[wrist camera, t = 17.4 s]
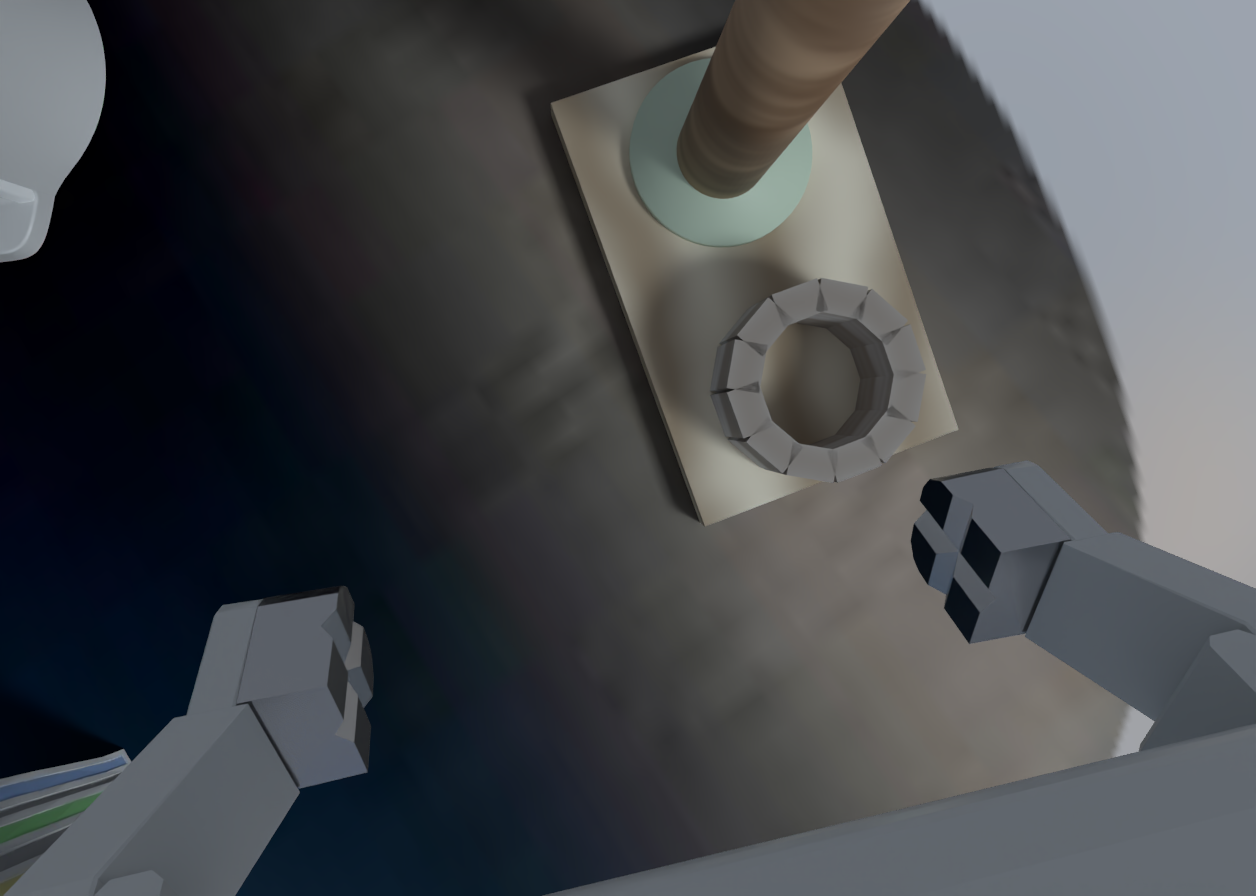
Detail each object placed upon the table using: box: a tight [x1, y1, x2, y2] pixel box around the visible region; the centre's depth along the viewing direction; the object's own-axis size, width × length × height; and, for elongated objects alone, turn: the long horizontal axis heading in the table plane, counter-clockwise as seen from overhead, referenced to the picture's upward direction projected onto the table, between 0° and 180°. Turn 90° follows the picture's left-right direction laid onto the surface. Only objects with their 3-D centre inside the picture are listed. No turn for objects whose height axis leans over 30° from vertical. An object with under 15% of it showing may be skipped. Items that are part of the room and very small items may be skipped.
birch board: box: [551, 47, 958, 526], centre depth 37 cm, size 14×22×6 cm, turn 20°
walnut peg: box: [677, 0, 910, 199], centre depth 29 cm, size 4×4×18 cm
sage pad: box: [629, 58, 812, 247], centre depth 38 cm, size 9×9×1 cm
